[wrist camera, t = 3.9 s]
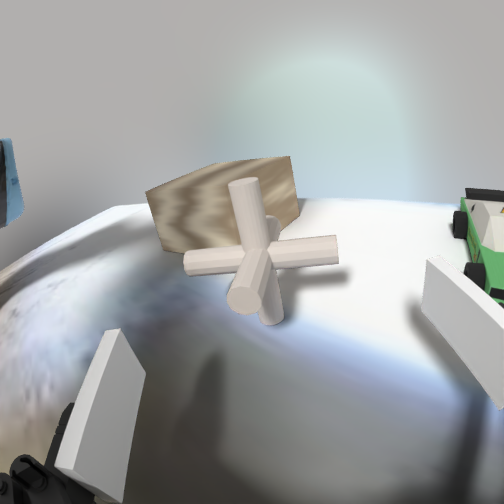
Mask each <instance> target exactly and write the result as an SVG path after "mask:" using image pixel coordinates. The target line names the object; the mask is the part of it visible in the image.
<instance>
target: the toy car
mask: <svg viewBox="0 0 504 504" xmlns="http://www.w3.org/2000/svg"><path fill="white" fill-rule="evenodd" d="M465 190H466V197H467V198H463V197H461V211H454V215H453V234H454V238H458V239H466V238H467V241H468V245H469V249H470V253H471V257H472V261H473V263H470V262H467V263H466V265H465V269H464V275H465V276H466V277H468V278H469V279H470V280H471V281H472V282H474V283H475V284H476V285H477V286H478V287H480V288H481V289H482V290H483V291H484V292H485V293H486V294H488V295H489V296H490V297H491V298H492V299H493V300H494V301H496V302H497V303H499V302H502V303H504V191H500V190H488V189H474V188H465Z"/></svg>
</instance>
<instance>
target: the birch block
mask: <svg viewBox="0 0 504 504" xmlns="http://www.w3.org/2000/svg"><path fill="white" fill-rule="evenodd" d="M249 177H257V178H258V180H259V184H260V189H261V194H262V199H263V204H264V210H265V215H266V216H267V215H271V216H275V217H276V218H277V219H279V221H280V223H281V230H282V229H284V228H285V227H286V226H287V225H288V224H290V223H291V222H292V221H293V220H294V219H296V218H297V217H298V216H299V215H300V214H299V208H298V202H297V195H296V189H295V183H294V178H293V171H292V165H291V160H290V156H285V157H272V158H260V159H250V160H241V161H233V162H223V163H215V164H212V165H209V166H206V167H204V168H201V169H199V170H196V171H194V172H191V173H189V174H186V175H184V176H181V177H179V178H176V179H174V180H172V181H169V182H167V183H164V184H162V185H160V186H158V187H155V188H153V189H151V190H149V191H146V197H147V200H148V203H149V207H150V210H151V213H152V216H153V219H154V223H155V226H156V229H157V232H158V235H159V238H160V241H161V244H162V247H163V250H165V251H172V252H178V253H184V254H185V252H186V251H188V250H197V249H206V248H215V247H224V246H233V245H242V243H241V239H240V235H239V230H238V226H237V222H236V218H235V213H234V209H233V205H232V200H231V196H230V192H229V188H228V184H229V183H230V182H233V181H235V180H239V179H243V178H249ZM281 230H280V231H281Z"/></svg>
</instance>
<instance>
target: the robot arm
mask: <svg viewBox="0 0 504 504" xmlns="http://www.w3.org/2000/svg"><path fill="white" fill-rule="evenodd" d="M23 210H24V202H23V197H22V193H21V189H20V184H19V180H18V175H17V170H16V165H15V159H14V153H13V147H12V141H11V139H10V138H6V139H0V228H2V227H5V226H7V225H8V224H9V223H10V222H11V221H13V220H15V219H17V218H18V217H20V216H21V214H22V213H23ZM421 311H422V312H423V313H424V315H425V316H426V317H427V318H428V319H429V320H430V322H431V323H432V324H433V325H434V326H435V327H436V329H437V330H438V331H439V332H440V333H441V335H442V336H443V337H444V338H445V339H446V341H447V342H448V343H449V344H450V346H451V347H452V348H453V349H454V351H455V352H456V353H457V354H458V356H459V357H460V358H461V359H462V361H463V362H464V363H465V364H466V366H467V367H468V368H469V370H470V371H471V372H472V374H473V375H474V376H475V378H476V379H477V380H478V382H479V383H480V384H481V386H482V387H483V388H484V390H485V391H486V392H487V394H488V395H489V397H490V398H491V399H492V401H493V402H494V404H495V405H496V407H497V408H498V409H499V411H500V410H501V409H503V408H504V303H502V302H499V303H497V302H496V301H494V300H493V299H492V298H491V297H490V296H489V295H488V294H486V293H485V292H484V291H483V290H482V289H481V288H480V287H478V286H477V285H476V284H475V283H474V282H472V281H471V280H470V279H469V278H468V277H466V276H465V275H464V274H463V273H462V272H460V271H459V270H458V269H457V268H455V267H454V266H453V265H452V264H450V263H449V262H448V261H446V260H445V259H444V258H443V257H441V256H440V255H439V256H436V257H432V258H429V259H427V261H426V272H425V282H424V290H423V298H422V305H421ZM145 376H146V372H145V371H144V369H143V367H142V366H141V364H140V362H139V361H138V359H137V357H136V356H135V354H134V352H133V350H132V349H131V347H130V345H129V343H128V341H127V340H126V338H125V336H124V334H123V332H122V330H121V328H119V329H113V330H106V331H105V333H104V335H103V337H102V339H101V342H100V344H99V346H98V348H97V351H96V353H95V355H94V358H93V360H92V362H91V365H90V367H89V369H88V372H87V374H86V377H85V379H84V382H83V384H82V387H81V389H80V392H79V394H78V397H77V400H76V402H75V403H70V404H69V405H68V406H67V408H66V409H65V410H64V411H63V413H62V415H61V418H60V421H59V423H58V424H59V426H57V429H56V432H55V433H56V435H54V437H53V440H52V443H51V446H50V449H49V452H48V455H47V458H46V461H45V464H44V466H43V465H42V464H40V463H39V462H38V461H37V460H35V459H34V458H33V457H31V456H30V455H26V454H23V455H21V456H18V457H17V458H16V459H15V460H14V461H13V463H12V464H11V467H10V471H9V472H10V476H9V475H8V474H6V473H0V504H96V502H95V501H94V496H97V497H99V498H100V499H102V500H103V501H107V502H114V503H121V504H122V502H123V495H124V487H125V480H126V474H127V468H128V461H129V455H130V450H131V444H132V439H133V433H134V428H135V423H136V418H137V413H138V408H139V403H140V399H141V394H142V389H143V385H144V380H145Z"/></svg>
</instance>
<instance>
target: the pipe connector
mask: <svg viewBox="0 0 504 504" xmlns="http://www.w3.org/2000/svg"><path fill="white" fill-rule="evenodd" d="M228 188H229V192H230V196H231V200H232V205H233V209H234V213H235V218H236V222H237V226H238V230H239V235H240V239H241V243H242V245H233V246H224V247H215V248H206V249H197V250H188V251H186V252H185V255H184V260H183V264H184V269H185V272H186V273H187V275H188V276H203V275H217V274H229V273H236V275H235V278H234V280H233V282H232V284H231V287H230V289H229V291H228V293H227V303H228V305H229V306H230V308H231V309H232V310H233V311H235V312H237V313H238V314H243V315H251V314H254V313H256V312H257V311H258V315H259V319H260V322H261V323H262V324H264V325H275V324H278V323H280V322H281V321H282V320H283V319H284V310H283V305H282V299H281V294H280V288H279V283H278V277H277V272H276V270H278V269H289V268H300V267H311V266H322V265H333V264H339V258H338V247H337V238H336V235H328V236H319V237H309V238H299V239H290V240H280V241H278V238H279V234H280V230H281V223H280V221H279V219H277V218H276V217H275V216H271V215H267V216H266V215H265V210H264V204H263V199H262V194H261V189H260V184H259V180H258V178H257V177H249V178H243V179H239V180H235V181H233V182H230V183H229V184H228Z"/></svg>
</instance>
